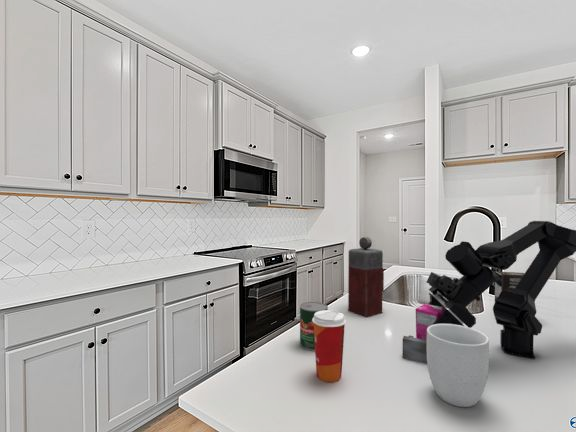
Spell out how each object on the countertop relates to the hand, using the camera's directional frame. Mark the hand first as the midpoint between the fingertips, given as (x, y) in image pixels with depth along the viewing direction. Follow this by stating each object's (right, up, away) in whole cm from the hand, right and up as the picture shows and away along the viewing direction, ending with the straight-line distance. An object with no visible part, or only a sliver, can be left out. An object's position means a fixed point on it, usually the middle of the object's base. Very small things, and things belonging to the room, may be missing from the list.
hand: (425, 325), depth 80 cm
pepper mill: (-6, -7, +34) cm, 36 cm away
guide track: (+1, -7, 0) cm, 8 cm away
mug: (-2, -8, -18) cm, 20 cm away
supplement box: (+1, -7, 0) cm, 7 cm away
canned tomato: (-29, -8, +6) cm, 31 cm away
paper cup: (-27, -8, -11) cm, 30 cm away
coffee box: (+42, -7, +26) cm, 50 cm away
